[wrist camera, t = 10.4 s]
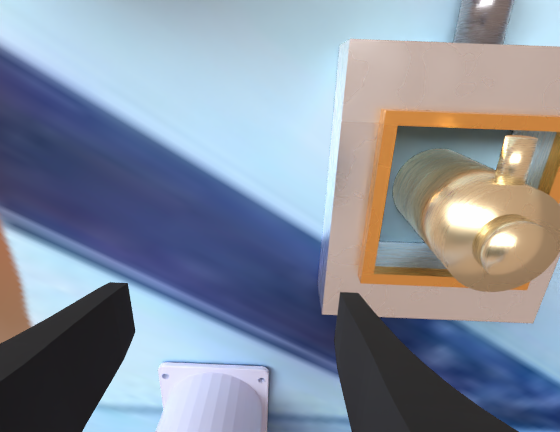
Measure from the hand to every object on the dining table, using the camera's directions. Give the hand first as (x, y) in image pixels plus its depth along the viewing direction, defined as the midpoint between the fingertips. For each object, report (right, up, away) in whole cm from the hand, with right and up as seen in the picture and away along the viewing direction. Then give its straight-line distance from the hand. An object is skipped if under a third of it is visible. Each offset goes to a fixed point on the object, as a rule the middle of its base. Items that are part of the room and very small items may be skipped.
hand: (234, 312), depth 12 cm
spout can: (+10, +5, +8) cm, 14 cm away
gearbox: (+10, +6, +7) cm, 14 cm away
